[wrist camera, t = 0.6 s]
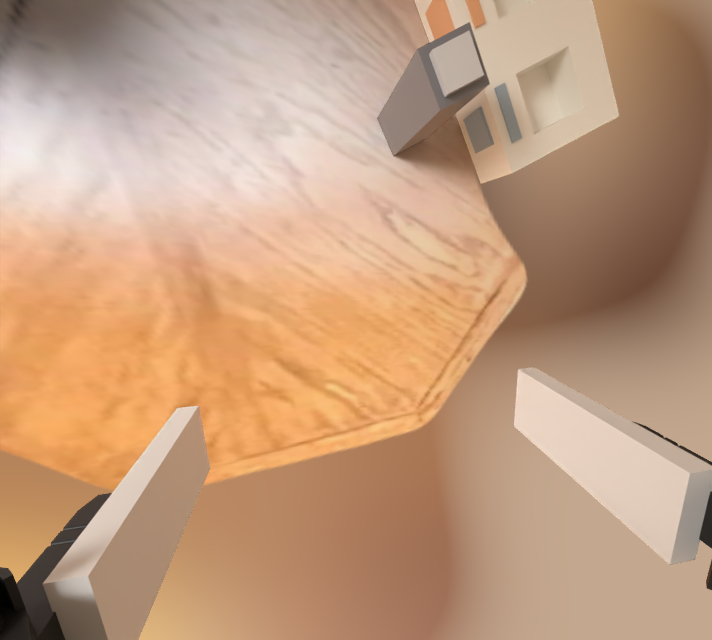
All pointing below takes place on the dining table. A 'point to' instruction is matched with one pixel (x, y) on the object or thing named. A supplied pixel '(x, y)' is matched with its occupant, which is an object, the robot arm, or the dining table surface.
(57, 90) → the dining table surface
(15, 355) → the dining table surface
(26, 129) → the dining table surface
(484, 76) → the plug
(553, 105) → the socket block
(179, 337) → the dining table surface
